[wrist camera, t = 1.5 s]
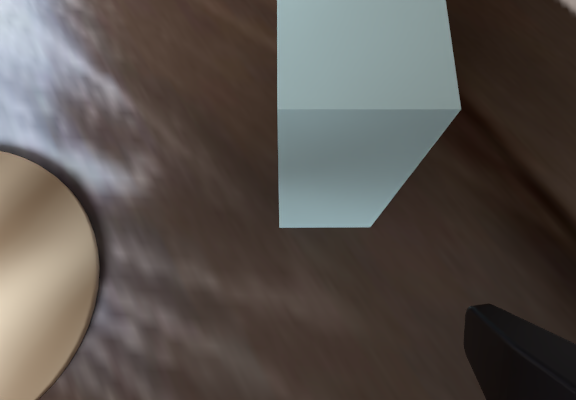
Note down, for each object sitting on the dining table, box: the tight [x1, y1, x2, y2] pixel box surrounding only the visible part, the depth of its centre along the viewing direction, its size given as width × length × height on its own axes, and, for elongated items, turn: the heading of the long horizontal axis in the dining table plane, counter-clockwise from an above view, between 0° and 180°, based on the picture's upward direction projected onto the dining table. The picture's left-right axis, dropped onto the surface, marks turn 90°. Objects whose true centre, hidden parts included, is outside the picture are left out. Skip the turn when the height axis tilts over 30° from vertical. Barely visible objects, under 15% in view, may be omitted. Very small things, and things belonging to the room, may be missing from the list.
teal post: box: [277, 0, 461, 228], centre depth 18 cm, size 5×5×12 cm
